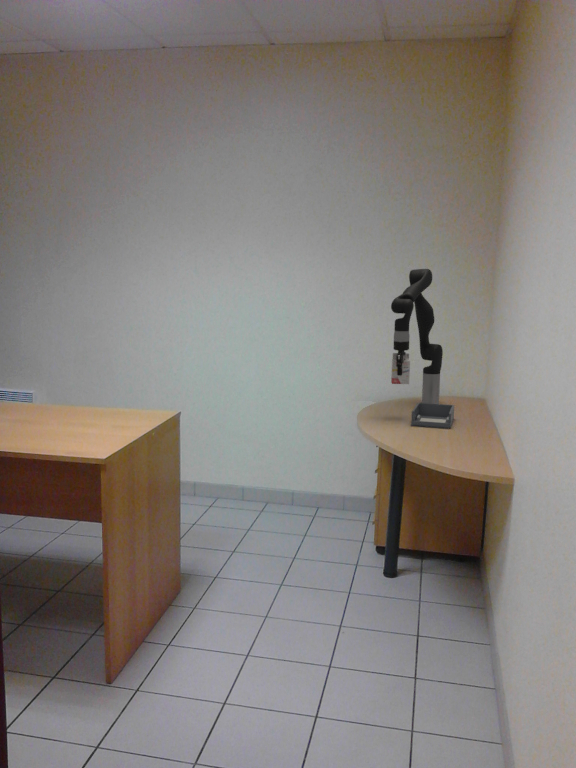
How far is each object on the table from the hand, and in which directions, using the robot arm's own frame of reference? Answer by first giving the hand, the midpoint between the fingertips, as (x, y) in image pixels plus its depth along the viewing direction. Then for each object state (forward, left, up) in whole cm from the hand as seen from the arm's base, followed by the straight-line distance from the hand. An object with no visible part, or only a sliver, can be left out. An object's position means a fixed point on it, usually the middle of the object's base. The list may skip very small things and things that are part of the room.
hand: (400, 374), depth 319 cm
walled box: (+4, +17, -22) cm, 28 cm away
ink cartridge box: (0, 0, -5) cm, 5 cm away
